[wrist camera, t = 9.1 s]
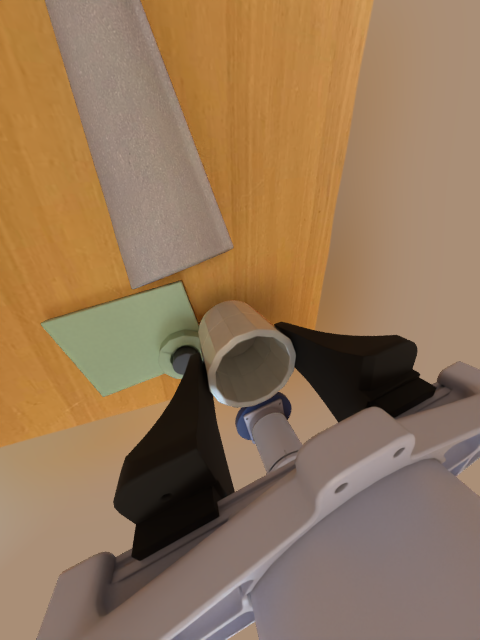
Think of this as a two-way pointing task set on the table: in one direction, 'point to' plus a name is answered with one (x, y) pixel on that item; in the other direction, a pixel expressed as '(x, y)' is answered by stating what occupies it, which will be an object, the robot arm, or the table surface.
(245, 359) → the cup
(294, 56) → the table surface
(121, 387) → the scale
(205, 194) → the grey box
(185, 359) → the button
